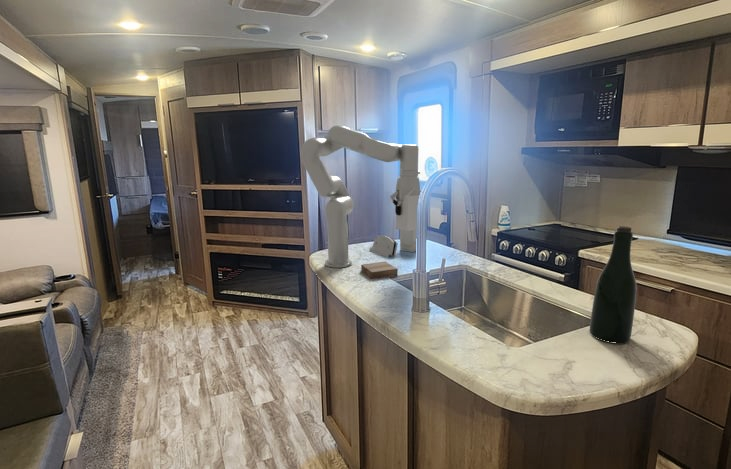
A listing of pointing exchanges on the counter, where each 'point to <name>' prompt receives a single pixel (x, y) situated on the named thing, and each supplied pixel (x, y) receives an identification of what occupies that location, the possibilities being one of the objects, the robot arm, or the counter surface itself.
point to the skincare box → (408, 240)
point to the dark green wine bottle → (615, 293)
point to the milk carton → (408, 212)
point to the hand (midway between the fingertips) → (407, 214)
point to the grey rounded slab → (384, 246)
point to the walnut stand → (379, 270)
